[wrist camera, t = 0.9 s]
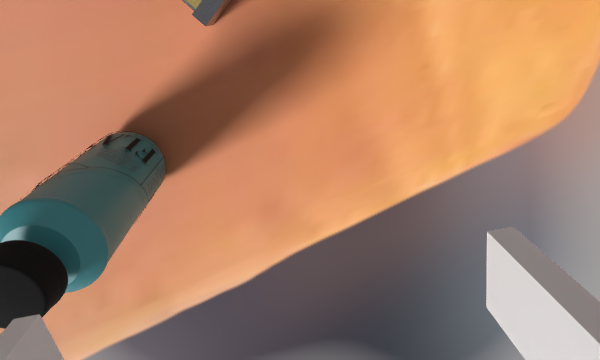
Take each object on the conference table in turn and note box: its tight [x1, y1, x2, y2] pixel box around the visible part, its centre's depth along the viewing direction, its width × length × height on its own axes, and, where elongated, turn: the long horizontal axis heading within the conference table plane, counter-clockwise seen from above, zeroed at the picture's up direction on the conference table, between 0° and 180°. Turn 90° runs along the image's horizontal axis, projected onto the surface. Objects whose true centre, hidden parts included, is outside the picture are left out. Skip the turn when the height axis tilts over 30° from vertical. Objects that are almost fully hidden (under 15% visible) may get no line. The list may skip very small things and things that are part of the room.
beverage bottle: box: [0, 131, 166, 329], centre depth 28 cm, size 6×7×20 cm
